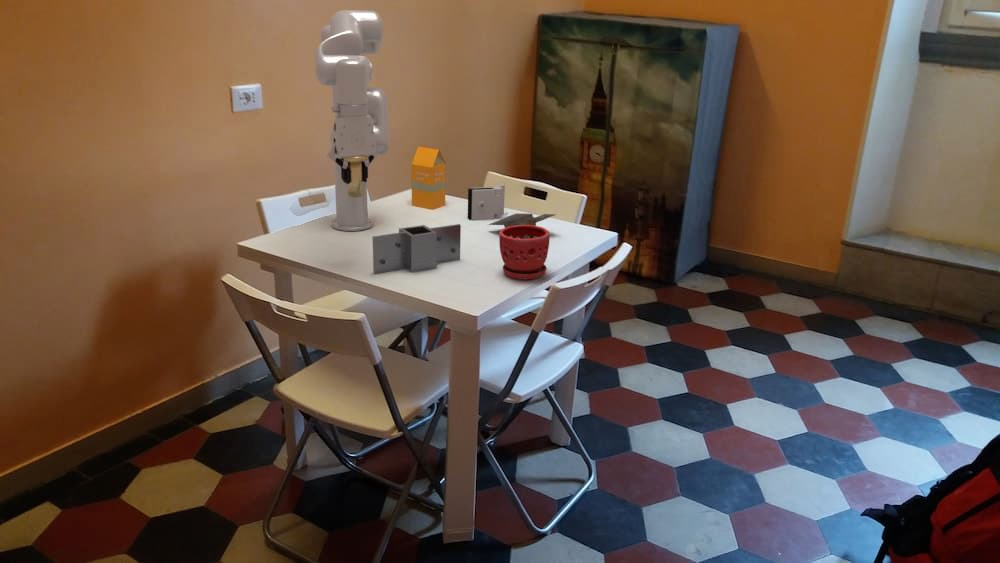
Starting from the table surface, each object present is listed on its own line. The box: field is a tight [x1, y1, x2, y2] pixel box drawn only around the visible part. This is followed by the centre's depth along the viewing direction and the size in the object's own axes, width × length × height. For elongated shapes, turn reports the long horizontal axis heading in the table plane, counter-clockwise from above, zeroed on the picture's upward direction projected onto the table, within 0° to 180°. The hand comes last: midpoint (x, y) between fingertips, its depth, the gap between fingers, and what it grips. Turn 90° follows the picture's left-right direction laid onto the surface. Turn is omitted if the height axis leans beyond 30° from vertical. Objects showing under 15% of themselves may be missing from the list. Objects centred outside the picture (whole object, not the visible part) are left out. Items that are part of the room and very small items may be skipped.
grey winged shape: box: [488, 213, 557, 237], centre depth 239 cm, size 16×9×15 cm
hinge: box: [467, 184, 506, 222], centre depth 255 cm, size 14×5×10 cm, turn 119°
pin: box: [341, 156, 367, 197], centre depth 202 cm, size 7×7×11 cm
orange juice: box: [410, 145, 447, 211], centre depth 264 cm, size 8×9×20 cm
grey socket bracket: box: [372, 223, 462, 275], centre depth 209 cm, size 8×26×10 cm, turn 122°
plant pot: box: [498, 225, 550, 281], centre depth 206 cm, size 13×13×12 cm
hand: (354, 181), depth 202 cm, fingers closed on pin, 4 cm apart
